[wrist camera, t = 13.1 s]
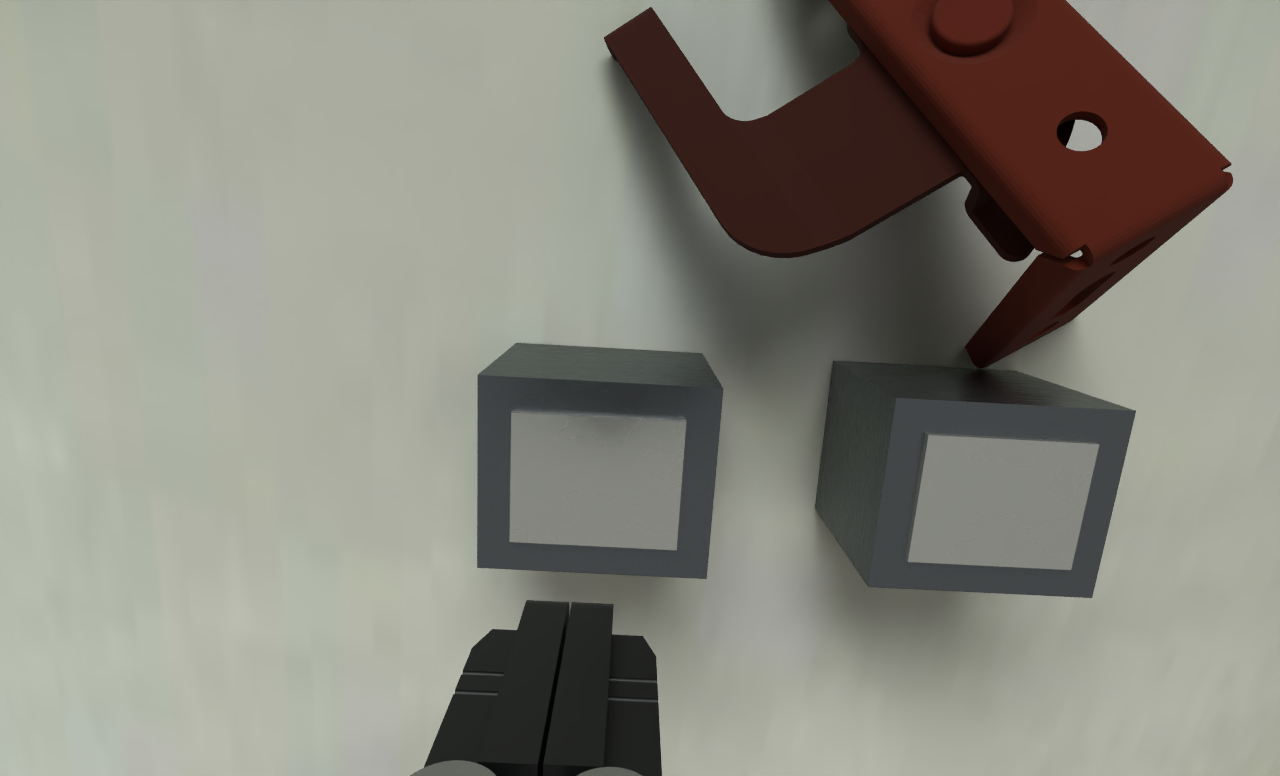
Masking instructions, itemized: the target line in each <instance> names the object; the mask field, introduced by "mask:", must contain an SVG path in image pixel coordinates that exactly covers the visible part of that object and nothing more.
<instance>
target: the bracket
mask: <svg viewBox="0 0 1280 776" xmlns="http://www.w3.org/2000/svg"><path fill="white" fill-rule="evenodd" d="M829 2H830V3H831V4H832V5H833V6H834V8H835V9H836V10H837V11H838V12H839V14H840V15H841V16H842V17H843V18H844V20H845V21H846V22H847V23H848V24H847V29H848V33H849V35H850V37H851V38H852V39H853V40H854V42H855V43H856V44H857V45H858V47H859V49H860V52H861V53H860V55H859V57H858V58H857V59H856V61H855V62H853V63H852V64H851V65H849V66H848V67H846V68H844V69H843V70H841V71H839V72H838V73H836V74H835V75H833V76H831V77H830V78H828V79H826V80H825V81H823V82H821V83H820V84H818V85H817V86H815V87H813V88H812V89H810V90H808V91H807V92H805V93H803V94H802V95H800V96H799V97H797V98H795V99H794V100H792V101H790V102H789V103H787V104H786V105H784V106H782V107H781V108H779V109H777V110H776V111H774V112H772V113H771V114H769V115H768V116H765V117H762V118H758V119H755V120H751V121H738V120H734V119H732V118H729V117H728V116H726V115H725V114H724V113H723V112H722V110H721V109H720V107H719V106H718V104H717V103H716V101H715V100H714V98H713V97H712V95H711V94H710V93H709V91H708V90H707V88H706V87H705V85H704V84H703V82H702V81H701V79H700V78H699V76H698V75H697V73H696V72H695V70H694V69H693V67H692V66H691V65H690V63H689V62H688V60H687V59H686V57H685V56H684V54H683V53H682V51H681V50H680V48H679V47H678V45H677V44H676V42H675V41H674V39H673V38H672V37H671V35H670V34H669V32H668V31H667V29H666V28H665V26H664V25H663V23H662V22H661V20H660V19H659V17H658V16H657V14H656V13H655V11H654V10H653V9H652V8H651V7H650V8H648V9H647V10H645V11H644V12H642V13H641V14H639V15H638V16H636V17H635V18H633V19H632V20H630V21H628V22H627V23H625V24H624V25H622V26H621V27H619V28H618V29H616V30H615V31H613V32H612V33H610V34H608V35H607V36H605V37H604V40H605V42H606V45H607V47H608V49H609V51H610V53H611V54H612V56H613V57H614V59H615V60H616V61H618V62H619V64H620V65H621V67H622V69H623V70H624V72H625V73H626V75H627V77H628V78H629V80H630V81H631V83H632V84H633V86H634V88H635V89H636V91H637V92H638V94H639V96H640V97H641V99H642V100H643V102H644V104H645V105H646V107H647V108H648V110H649V112H650V113H651V115H652V116H653V118H654V120H655V121H656V123H657V124H658V126H659V128H660V129H661V131H662V132H663V134H664V135H665V137H666V139H667V140H668V142H669V143H670V145H671V147H672V148H673V150H674V151H675V153H676V155H677V156H678V158H679V159H680V161H681V163H682V164H683V166H684V167H685V169H686V171H687V172H688V174H689V175H690V177H691V178H692V180H693V182H694V183H695V185H696V186H697V188H698V190H699V191H700V193H701V194H702V196H703V198H704V199H705V201H706V202H707V204H708V206H709V207H710V209H711V210H712V212H713V214H714V215H715V217H716V218H717V220H718V222H719V223H720V225H721V226H722V228H723V229H724V230H725V231H726V233H727V234H728V235H729V236H730V237H731V238H732V239H733V240H734V241H735V242H736V243H738V244H739V245H741V246H742V247H744V248H746V249H747V250H749V251H752V252H754V253H757V254H760V255H763V256H769V257H774V258H793V257H800V256H805V255H808V254H812V253H815V252H819V251H822V250H825V249H829V248H831V247H834V246H836V245H839V244H842V243H844V242H847V241H849V240H851V239H852V238H854V237H856V236H858V235H859V234H861V233H863V232H865V231H866V230H868V229H870V228H872V227H873V226H875V225H877V224H878V223H880V222H882V221H884V220H885V219H887V218H889V217H891V216H892V215H894V214H896V213H898V212H899V211H901V210H903V209H904V208H906V207H908V206H910V205H911V204H913V203H915V202H917V201H918V200H920V199H922V198H924V197H925V196H927V195H929V194H930V193H932V192H934V191H936V190H937V189H939V188H941V187H943V186H944V185H946V184H948V183H950V182H951V181H953V180H955V179H956V178H958V177H961V176H963V177H965V178H966V180H967V181H968V182H969V183H970V185H971V187H972V188H971V190H970V192H969V194H968V197H967V199H966V201H965V209H966V212H967V214H968V216H969V217H970V219H971V220H972V221H973V222H974V224H975V225H976V226H977V227H978V229H979V230H980V231H981V233H982V234H983V235H984V236H985V238H986V239H987V240H988V241H989V243H990V244H991V245H992V246H993V248H994V249H995V250H996V251H997V253H998V254H999V255H1000V256H1001V257H1002V258H1003V259H1005V260H1007V261H1010V262H1017V261H1021V260H1024V259H1025V258H1027V257H1028V256H1029V254H1030V253H1031V252H1032V250H1033V249H1034V248H1035V249H1036V250H1038V251H1041V252H1044V253H1042V254H1040V255H1038V256H1037V257H1036V259H1035V260H1034V261H1033V262H1032V264H1031V265H1030V266H1029V267H1028V269H1027V270H1026V271H1025V272H1024V274H1023V275H1022V276H1021V277H1020V279H1019V280H1018V281H1017V282H1016V284H1015V285H1014V286H1013V287H1012V289H1011V290H1010V291H1009V292H1008V293H1007V295H1006V296H1005V297H1004V298H1003V300H1002V301H1001V302H1000V303H999V305H998V306H997V307H996V308H995V310H994V311H993V312H992V313H991V315H990V316H989V317H988V318H987V320H986V321H985V322H984V323H983V325H982V326H981V327H980V328H979V330H978V331H977V332H976V333H975V335H974V336H973V337H972V338H971V340H970V341H969V342H968V343H967V345H966V346H965V348H966V350H967V352H968V354H969V357H970V359H971V361H972V363H973V364H974V365H975V366H976V367H978V368H985V367H987V366H989V365H991V364H993V363H995V362H997V361H998V360H1000V359H1002V358H1004V357H1006V356H1008V355H1009V354H1011V353H1013V352H1015V351H1017V350H1019V349H1020V348H1022V347H1024V346H1026V345H1028V344H1030V343H1031V342H1033V341H1035V340H1037V339H1039V338H1041V337H1042V336H1044V335H1046V334H1048V333H1050V332H1052V331H1053V330H1055V329H1057V328H1059V327H1061V326H1063V325H1064V324H1066V323H1068V322H1070V321H1071V320H1073V319H1074V318H1075V317H1076V316H1078V315H1079V314H1080V313H1081V312H1082V311H1084V310H1085V309H1086V308H1087V307H1088V306H1090V305H1091V304H1092V303H1093V302H1094V301H1096V300H1097V299H1098V298H1099V297H1100V296H1102V295H1103V294H1104V293H1105V292H1106V291H1108V290H1109V289H1110V288H1111V287H1112V286H1114V285H1115V284H1116V283H1117V282H1118V281H1120V280H1121V279H1122V278H1123V277H1124V276H1126V275H1127V274H1128V273H1129V272H1130V271H1132V270H1133V269H1134V268H1135V267H1136V266H1138V265H1139V264H1140V263H1141V262H1142V261H1143V260H1145V259H1146V258H1147V257H1148V256H1149V255H1151V254H1152V253H1153V252H1154V251H1155V250H1157V249H1158V248H1159V247H1160V246H1161V245H1163V244H1164V243H1165V242H1166V241H1167V240H1169V239H1170V238H1171V237H1172V236H1173V235H1175V234H1176V233H1177V232H1178V231H1179V230H1181V229H1182V228H1183V227H1184V226H1185V225H1187V224H1188V223H1189V222H1190V221H1191V220H1193V219H1194V218H1195V217H1196V216H1197V215H1199V214H1200V213H1201V212H1202V211H1203V210H1205V209H1206V208H1207V207H1208V206H1209V205H1211V204H1212V203H1213V202H1214V201H1215V200H1217V199H1218V198H1219V197H1220V196H1221V195H1223V194H1224V193H1225V192H1226V191H1227V190H1229V188H1230V187H1231V186H1232V183H1233V177H1232V174H1231V173H1230V172H1224V171H1223V170H1224V169H1226V168H1227V167H1229V166H1231V163H1230V162H1229V161H1228V160H1227V159H1226V158H1225V157H1224V156H1223V155H1222V154H1221V153H1220V152H1219V151H1218V150H1217V149H1216V148H1215V147H1214V146H1213V145H1212V144H1211V143H1210V142H1209V141H1208V140H1207V139H1206V138H1205V137H1204V136H1203V135H1202V134H1201V133H1200V132H1199V131H1198V130H1197V129H1196V128H1195V127H1194V126H1193V125H1192V124H1191V123H1190V122H1189V121H1188V120H1187V119H1186V118H1185V117H1184V116H1183V115H1182V114H1180V113H1179V112H1178V111H1177V110H1176V109H1175V108H1174V107H1173V106H1172V105H1171V104H1170V103H1169V102H1168V101H1167V100H1166V99H1165V98H1164V97H1163V96H1162V95H1161V94H1160V93H1159V92H1158V91H1157V90H1156V89H1155V88H1154V87H1153V86H1152V85H1151V84H1150V83H1149V82H1148V81H1147V80H1146V79H1145V78H1144V77H1143V76H1142V75H1141V74H1140V73H1139V72H1138V71H1137V70H1136V69H1135V68H1134V67H1133V66H1132V65H1131V64H1130V63H1129V62H1128V61H1127V60H1126V59H1125V58H1124V57H1123V56H1122V55H1121V54H1120V53H1119V52H1118V51H1117V50H1116V49H1115V48H1114V47H1113V46H1111V45H1110V44H1109V43H1108V42H1107V41H1106V40H1105V39H1104V38H1103V37H1102V36H1101V35H1100V34H1099V33H1098V32H1097V31H1096V30H1095V29H1094V28H1093V27H1092V26H1091V25H1090V24H1089V23H1088V22H1087V21H1086V20H1085V19H1084V18H1083V17H1082V16H1081V15H1080V14H1079V13H1078V12H1077V11H1076V10H1075V9H1074V8H1073V7H1072V6H1071V5H1070V4H1069V3H1068V2H1067V1H1066V0H829ZM1075 120H1085V121H1089V122H1091V123H1093V124H1094V125H1095V126H1097V127H1098V129H1099V130H1100V131H1101V135H1102V143H1101V145H1100V146H1098V147H1097V148H1095V149H1092V150H1089V151H1074V150H1070V149H1068V148H1066V145H1067V143H1068V141H1069V138H1070V136H1071V133H1072V130H1073V126H1074V123H1075ZM1079 250H1081V251H1082V253H1083V255H1082V256H1080V257H1078V258H1075V257H1072V256H1070V255H1072V254H1073V253H1075V252H1077V251H1079Z"/></svg>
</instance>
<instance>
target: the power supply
mask: <svg viewBox="0 0 1280 776" xmlns="http://www.w3.org/2000/svg"><path fill="white" fill-rule="evenodd" d="M722 397H723V387H722V385H721V384H720V382H719V380H718V379H717V377H716V376H715V374H714V372H713V371H712V369H711V367H710V366H709V364H708V362H707V361H706V359H705V357H704V356H703V354H702V353H687V352H669V351H651V350H633V349H615V348H597V347H579V346H561V345H544V344H526V343H516V344H515V345H513V346H512V347H511V348H510V349H508V350H507V351H506V352H505V353H504V354H502V355H501V356H500V357H499V358H498V359H496V360H495V361H494V362H493V363H492V364H490V365H489V366H488V367H487V368H485V369H484V370H483V371H482V372H481V373H479V374H478V525H477V568H495V569H515V570H536V571H556V572H576V573H597V574H617V575H637V576H658V577H678V578H698V579H706V578H707V567H708V556H709V544H710V533H711V522H712V510H713V499H714V488H715V476H716V465H717V454H718V442H719V431H720V420H721V408H722Z"/></svg>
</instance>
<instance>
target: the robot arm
mask: <svg viewBox="0 0 1280 776" xmlns="http://www.w3.org/2000/svg"><path fill="white" fill-rule="evenodd" d="M612 623H613V604H598V603H577V602H572V605H571V610H570V616H569V602H553V601H532V600H527V601H526V604H525V607H524V610H523V613H522V616H521V620H520V623H519V626H518V629H517V630H498V629H492V630H491V631H490V632H489V633H488V634H487V635H486V636H485V637H483V638H482V639H481V640H480V641H479V642H478V643H477V644H476V645H475V646H474V647H473V648H472V650H471V652H470V655H469V657H468V659H467V662H466V664H465V667H464V669H463V675H461V677H460V679H459V682H458V684H457V687H456V689H455V694H453V697H452V699H451V701H450V704H449V706H448V709H447V711H446V714H445V716H444V719H443V721H442V724H441V726H440V729H439V731H438V734H437V736H436V739H435V741H434V743H433V746H432V748H431V751H430V753H429V756H428V758H427V761H426V763H425V766H424V768H423V769H421V770H419V771H417V772H415V773H413V774H412V775H410V776H662V768H661V748H660V728H659V708H658V688H657V668H656V656H655V654H654V653H653V651H652V649H651V648H650V646H649V645H648V643H647V642H646V640H645V639H644V637H643V636H629V635H612Z"/></svg>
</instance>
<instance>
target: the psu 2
mask: <svg viewBox="0 0 1280 776" xmlns="http://www.w3.org/2000/svg"><path fill="white" fill-rule="evenodd" d="M1135 413H1136V411H1135V410H1132V409H1129V408H1126V407H1123V406H1120V405H1117V404H1114V403H1111V402H1108V401H1105V400H1102V399H1099V398H1096V397H1093V396H1090V395H1087V394H1084V393H1081V392H1078V391H1075V390H1072V389H1069V388H1066V387H1063V386H1060V385H1057V384H1054V383H1051V382H1048V381H1045V380H1042V379H1039V378H1036V377H1033V376H1030V375H1027V374H1024V373H1021V372H1018V371H1009V370H991V369H973V368H955V367H937V366H919V365H901V364H884V363H866V362H848V361H833V368H832V376H831V384H830V392H829V400H828V408H827V416H826V424H825V432H824V440H823V448H822V456H821V464H820V472H819V480H818V487H817V495H816V503H815V509H816V511H817V512H818V514H819V515H820V517H821V518H822V520H823V521H824V522H825V524H826V525H827V527H828V528H829V530H830V531H831V533H832V534H833V536H834V537H835V539H836V540H837V542H838V543H839V545H840V546H841V548H842V549H843V551H844V552H845V553H846V555H847V556H848V558H849V559H850V561H851V562H852V564H853V565H854V567H855V568H856V570H857V571H858V573H859V574H860V576H861V577H862V579H863V580H864V581H865V583H866V584H867V586H868V587H881V588H901V589H922V590H942V591H962V592H983V593H1003V594H1023V595H1044V596H1064V597H1084V598H1092V596H1093V591H1094V587H1095V583H1096V579H1097V574H1098V570H1099V566H1100V562H1101V557H1102V553H1103V549H1104V545H1105V540H1106V536H1107V532H1108V528H1109V523H1110V519H1111V515H1112V511H1113V506H1114V502H1115V498H1116V494H1117V489H1118V485H1119V481H1120V477H1121V472H1122V468H1123V464H1124V460H1125V455H1126V451H1127V447H1128V443H1129V438H1130V434H1131V430H1132V426H1133V421H1134V417H1135Z"/></svg>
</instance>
